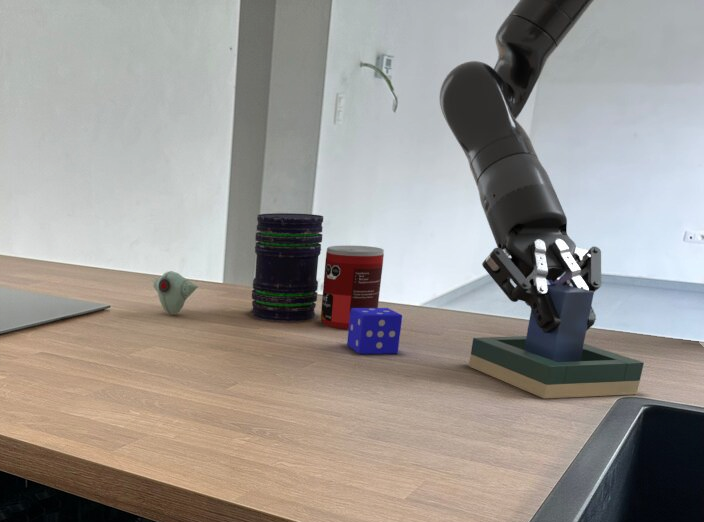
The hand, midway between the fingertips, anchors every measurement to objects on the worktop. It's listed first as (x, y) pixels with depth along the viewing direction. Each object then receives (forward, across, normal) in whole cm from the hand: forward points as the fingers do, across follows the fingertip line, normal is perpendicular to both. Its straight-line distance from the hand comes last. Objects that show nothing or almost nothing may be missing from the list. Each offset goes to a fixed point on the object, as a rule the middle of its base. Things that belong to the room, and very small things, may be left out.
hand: (569, 327), depth 93 cm
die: (-9, -13, +18) cm, 24 cm away
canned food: (-20, -9, +29) cm, 37 cm away
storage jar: (-26, -16, +35) cm, 46 cm away
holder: (+3, 0, +6) cm, 7 cm away
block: (+1, 0, +4) cm, 5 cm away
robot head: (-28, -33, +37) cm, 57 cm away
